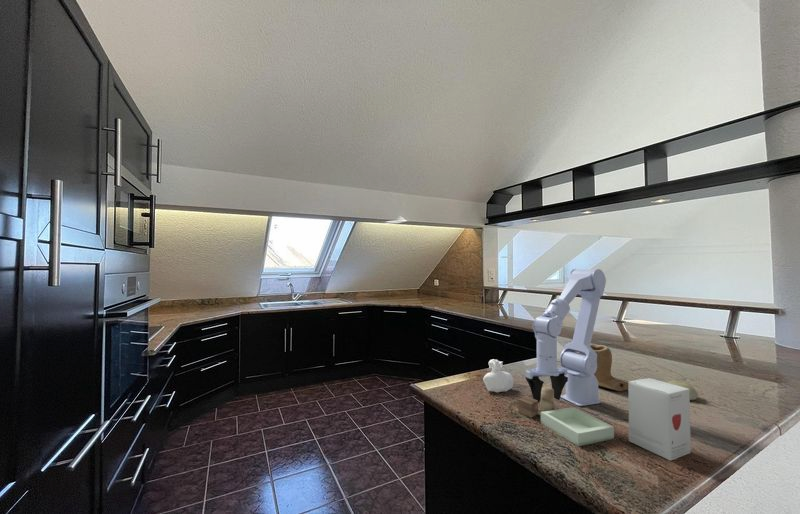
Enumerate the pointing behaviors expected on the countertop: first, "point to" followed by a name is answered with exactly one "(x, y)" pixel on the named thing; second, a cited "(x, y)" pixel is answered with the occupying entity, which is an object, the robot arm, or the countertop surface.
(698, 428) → the countertop surface
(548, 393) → the beech cylinder
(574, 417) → the tray
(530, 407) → the walnut cube
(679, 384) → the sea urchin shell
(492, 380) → the bust
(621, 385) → the brown boot
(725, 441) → the countertop surface
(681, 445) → the supplement box
